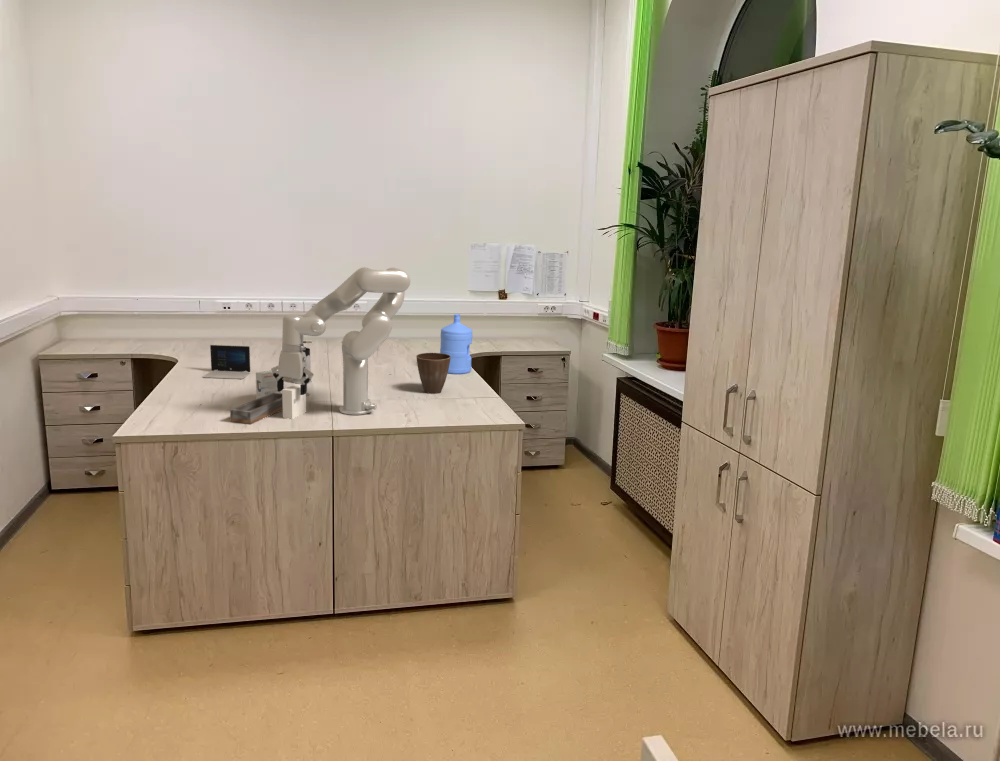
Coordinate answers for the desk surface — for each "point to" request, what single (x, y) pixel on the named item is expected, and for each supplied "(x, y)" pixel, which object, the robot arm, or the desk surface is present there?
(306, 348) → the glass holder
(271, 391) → the ink box
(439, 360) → the plant pot
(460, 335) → the water jug
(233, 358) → the laptop
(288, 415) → the white rectangular box
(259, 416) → the door track
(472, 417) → the desk surface
